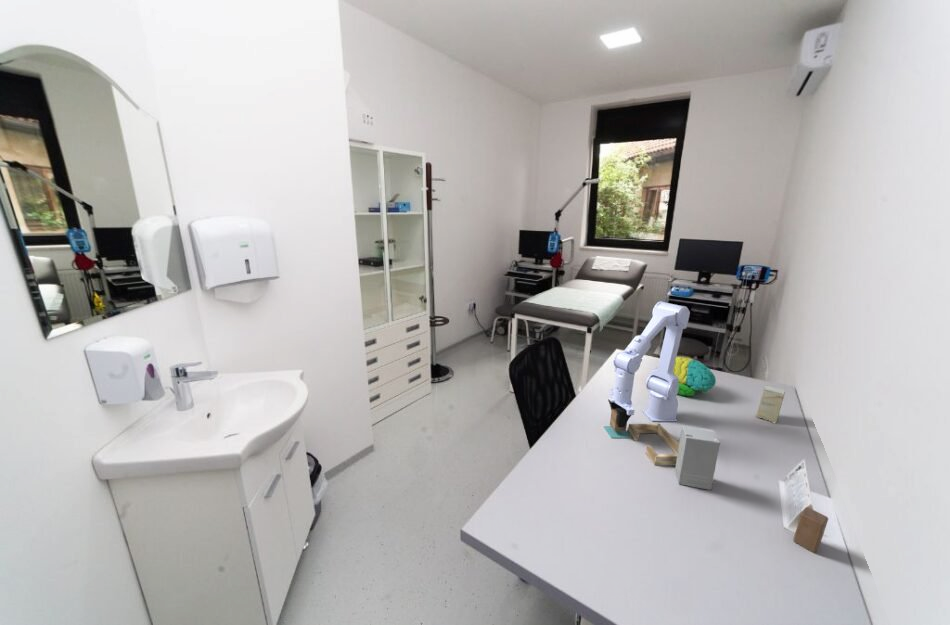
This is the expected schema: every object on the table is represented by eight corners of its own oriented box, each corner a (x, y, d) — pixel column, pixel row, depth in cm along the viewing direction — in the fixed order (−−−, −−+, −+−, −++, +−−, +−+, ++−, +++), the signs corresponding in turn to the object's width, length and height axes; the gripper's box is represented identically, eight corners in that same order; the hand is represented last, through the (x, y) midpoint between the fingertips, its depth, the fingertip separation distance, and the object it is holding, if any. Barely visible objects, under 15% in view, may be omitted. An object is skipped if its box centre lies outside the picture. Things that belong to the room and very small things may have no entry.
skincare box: (705, 476, 106) (715, 428, 102) (711, 493, 99) (723, 442, 95) (672, 469, 109) (681, 422, 105) (677, 485, 102) (686, 435, 98)
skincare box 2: (755, 417, 139) (763, 388, 136) (757, 413, 142) (764, 384, 139) (776, 424, 135) (784, 394, 132) (778, 419, 138) (785, 390, 135)
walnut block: (620, 424, 129) (623, 409, 127) (625, 430, 125) (628, 415, 123) (609, 424, 128) (611, 409, 127) (614, 430, 125) (616, 415, 123)
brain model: (720, 393, 157) (724, 360, 154) (702, 406, 146) (706, 371, 143) (664, 377, 175) (667, 347, 172) (644, 387, 164) (647, 355, 161)
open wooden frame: (658, 431, 128) (659, 423, 128) (689, 464, 111) (691, 456, 110) (627, 431, 128) (628, 423, 127) (654, 465, 110) (656, 456, 110)
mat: (622, 426, 131) (622, 425, 131) (631, 438, 124) (631, 437, 124) (603, 426, 130) (603, 426, 130) (611, 438, 124) (611, 437, 124)
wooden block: (792, 541, 85) (800, 513, 83) (797, 533, 87) (806, 505, 85) (814, 554, 82) (824, 525, 80) (819, 545, 84) (829, 517, 82)
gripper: (603, 378, 130) (599, 412, 133) (621, 397, 116) (615, 435, 119) (622, 378, 130) (618, 412, 133) (642, 397, 116) (637, 435, 119)
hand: (618, 423), depth 126 cm, fingers closed on walnut block, 4 cm apart
